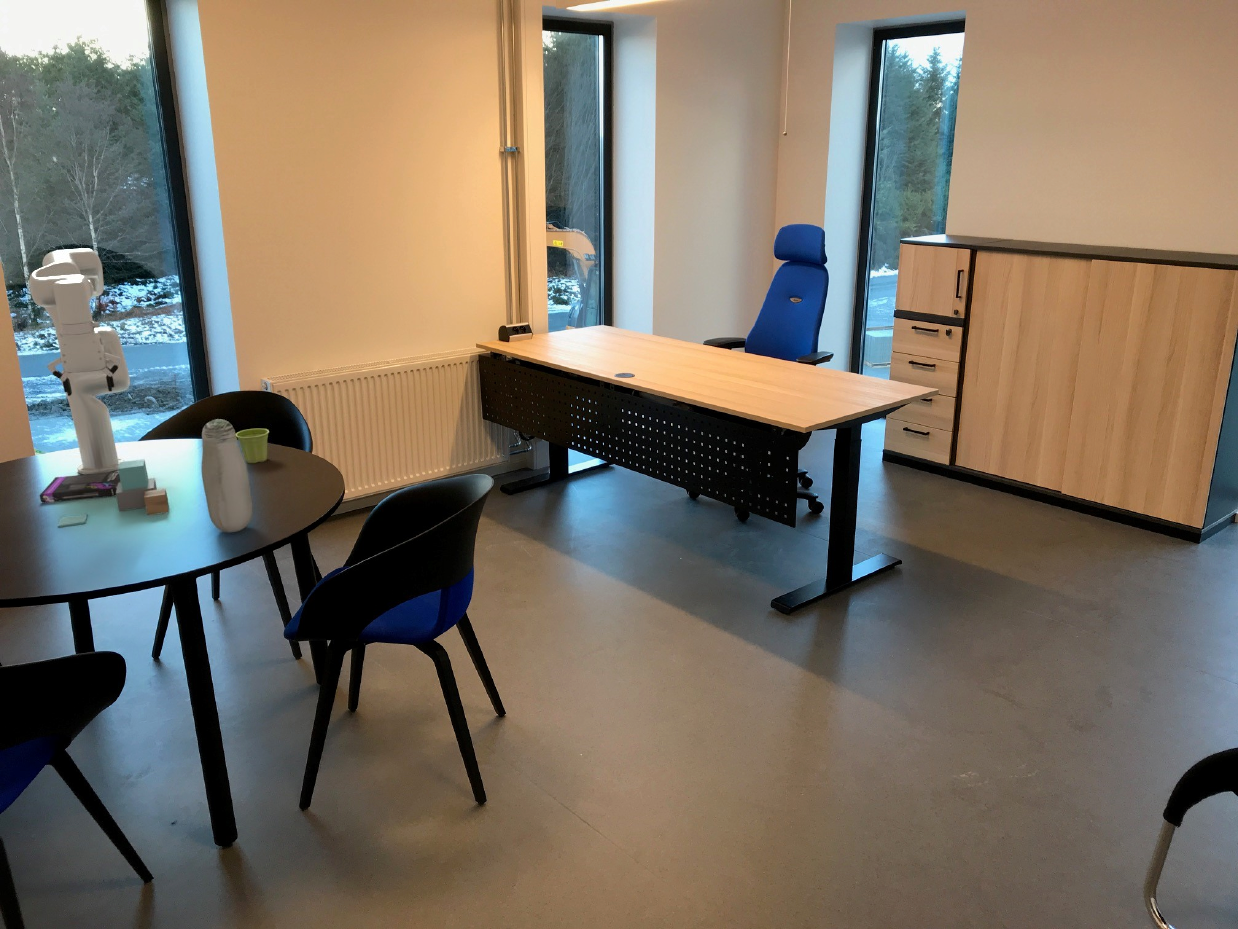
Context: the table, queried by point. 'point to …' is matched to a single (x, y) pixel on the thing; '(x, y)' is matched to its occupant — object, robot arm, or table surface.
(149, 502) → the walnut cube
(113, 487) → the box
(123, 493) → the grey square block
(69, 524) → the tile
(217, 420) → the white bottle
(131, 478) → the teal cube
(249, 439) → the plant pot
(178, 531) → the table surface
